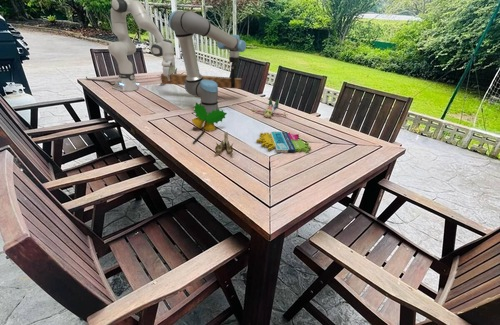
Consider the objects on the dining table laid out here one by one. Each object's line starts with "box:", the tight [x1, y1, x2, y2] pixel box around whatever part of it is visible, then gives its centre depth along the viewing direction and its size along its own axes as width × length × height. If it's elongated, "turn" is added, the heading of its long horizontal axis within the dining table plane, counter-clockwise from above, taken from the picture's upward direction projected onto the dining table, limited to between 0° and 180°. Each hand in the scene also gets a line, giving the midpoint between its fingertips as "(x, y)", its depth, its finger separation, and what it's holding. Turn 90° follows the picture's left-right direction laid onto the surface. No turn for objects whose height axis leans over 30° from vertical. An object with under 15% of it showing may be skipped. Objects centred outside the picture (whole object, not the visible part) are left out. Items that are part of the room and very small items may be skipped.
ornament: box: [191, 102, 228, 132], centre depth 162 cm, size 21×8×15 cm, turn 105°
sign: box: [256, 131, 312, 154], centre depth 152 cm, size 26×2×30 cm
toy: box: [250, 97, 288, 118], centre depth 199 cm, size 28×7×30 cm
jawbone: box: [214, 131, 234, 156], centre depth 136 cm, size 9×15×10 cm
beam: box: [160, 72, 243, 90], centre depth 213 cm, size 65×5×7 cm, turn 87°
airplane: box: [156, 67, 178, 87], centre depth 264 cm, size 38×31×10 cm
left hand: (170, 80), depth 214 cm, fingers closed on beam, 5 cm apart
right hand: (233, 86), depth 215 cm, fingers closed on beam, 5 cm apart
